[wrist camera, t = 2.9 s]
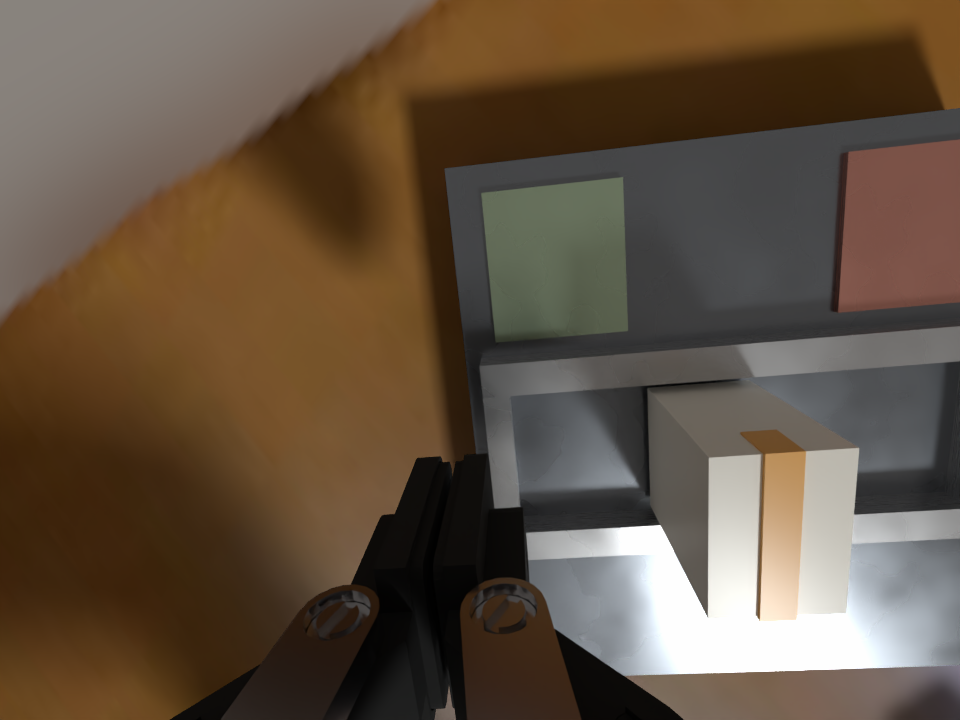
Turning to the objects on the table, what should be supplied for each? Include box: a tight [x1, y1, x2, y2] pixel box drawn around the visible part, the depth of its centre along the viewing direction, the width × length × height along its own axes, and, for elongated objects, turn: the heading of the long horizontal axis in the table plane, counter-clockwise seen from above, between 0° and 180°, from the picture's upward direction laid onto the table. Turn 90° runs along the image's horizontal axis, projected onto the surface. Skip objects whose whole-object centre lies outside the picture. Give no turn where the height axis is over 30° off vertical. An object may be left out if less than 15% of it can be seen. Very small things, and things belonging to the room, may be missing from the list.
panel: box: [445, 108, 960, 676], centre depth 17 cm, size 18×16×4 cm
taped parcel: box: [647, 380, 859, 622], centre depth 13 cm, size 4×3×5 cm
